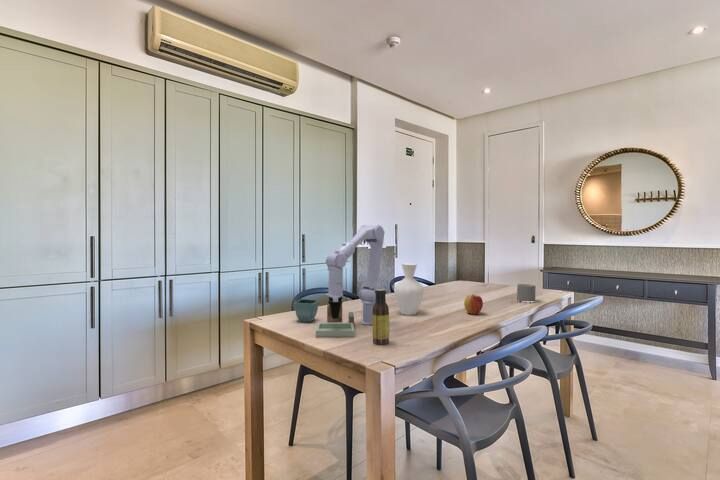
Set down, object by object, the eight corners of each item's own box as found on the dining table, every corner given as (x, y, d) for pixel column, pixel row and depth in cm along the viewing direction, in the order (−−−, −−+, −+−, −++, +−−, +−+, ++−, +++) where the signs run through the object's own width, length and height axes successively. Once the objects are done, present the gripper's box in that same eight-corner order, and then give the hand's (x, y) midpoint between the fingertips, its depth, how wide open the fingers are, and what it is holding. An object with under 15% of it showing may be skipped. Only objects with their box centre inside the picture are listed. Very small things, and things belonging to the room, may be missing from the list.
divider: (352, 323, 167) (353, 311, 167) (353, 328, 158) (354, 316, 158) (348, 323, 167) (348, 311, 166) (349, 328, 158) (349, 316, 158)
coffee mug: (528, 304, 216) (528, 286, 215) (513, 301, 224) (513, 284, 224) (542, 301, 223) (542, 285, 222) (527, 299, 231) (527, 283, 231)
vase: (403, 309, 197) (403, 262, 196) (427, 313, 189) (428, 264, 188) (389, 313, 185) (389, 264, 185) (414, 318, 177) (415, 266, 176)
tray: (352, 328, 157) (352, 322, 157) (354, 337, 145) (354, 330, 145) (317, 328, 156) (317, 323, 156) (315, 337, 144) (315, 330, 144)
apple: (473, 316, 182) (473, 296, 182) (459, 312, 190) (460, 293, 190) (486, 314, 187) (486, 295, 186) (472, 311, 195) (473, 292, 194)
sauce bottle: (392, 341, 140) (392, 289, 139) (383, 346, 134) (384, 291, 134) (377, 338, 143) (378, 287, 143) (368, 342, 138) (369, 289, 137)
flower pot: (312, 323, 165) (312, 303, 164) (293, 322, 166) (294, 302, 166) (318, 319, 173) (319, 300, 173) (300, 317, 175) (301, 299, 175)
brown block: (342, 318, 154) (342, 304, 153) (342, 322, 148) (342, 307, 147) (327, 318, 153) (327, 304, 153) (327, 322, 147) (327, 307, 147)
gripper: (326, 280, 157) (325, 312, 157) (325, 285, 143) (324, 320, 143) (342, 280, 157) (342, 312, 158) (343, 285, 143) (343, 320, 143)
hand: (335, 316), depth 150 cm, fingers closed on brown block, 6 cm apart
